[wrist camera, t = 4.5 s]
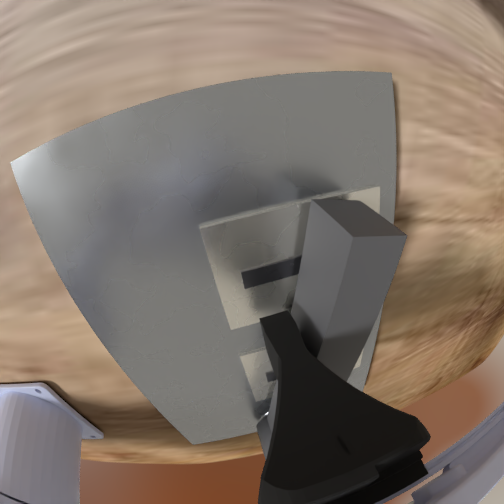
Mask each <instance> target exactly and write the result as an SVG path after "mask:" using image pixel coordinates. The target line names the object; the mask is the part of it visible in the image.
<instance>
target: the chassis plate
mask: <svg viewBox="0 0 504 504" xmlns="http://www.w3.org/2000/svg"><path fill="white" fill-rule="evenodd" d="M11 166H12V169H13V172H14V175H15V178H16V181H17V184H18V187H19V190H20V192H21V195H22V197H23V200H24V203H25V205H26V208H27V210H28V212H29V215H30V217H31V219H32V222H33V224H34V226H35V229H36V231H37V233H38V235H39V237H40V239H41V241H42V243H43V246H44V248H45V250H46V252H47V254H48V255H49V257H50V259H51V261H52V263H53V265H54V267H55V269H56V271H57V272H58V274H59V276H60V278H61V280H62V281H63V283H64V285H65V287H66V288H67V290H68V292H69V293H70V295H71V297H72V298H73V300H74V302H75V303H76V305H77V306H78V308H79V310H80V311H81V313H82V314H83V316H84V317H85V319H86V320H87V322H88V323H89V325H90V326H91V328H92V329H93V331H94V332H95V334H96V335H97V336H98V338H99V339H100V341H101V342H102V343H103V345H104V346H105V347H106V349H107V350H108V351H109V353H110V354H111V355H112V357H113V358H114V359H115V361H116V362H117V363H118V364H119V366H120V367H121V368H122V370H123V371H124V372H125V373H126V374H127V376H128V377H129V378H130V379H131V380H132V382H133V383H134V384H135V385H136V386H137V388H138V389H139V390H140V391H141V392H142V393H143V394H144V396H145V397H146V398H147V399H148V400H149V401H150V402H151V403H152V404H153V405H154V407H155V408H156V409H157V410H158V411H159V412H160V413H161V414H162V415H163V416H164V417H165V418H166V419H167V420H168V421H169V422H170V423H171V424H172V425H173V426H174V427H175V428H176V429H177V430H178V431H179V432H180V433H181V434H182V435H183V436H184V437H185V438H186V439H187V440H188V441H190V442H191V443H192V444H193V445H194V444H200V443H206V442H212V441H217V440H223V439H227V438H232V437H237V436H241V435H246V434H250V433H254V432H258V431H257V428H256V425H257V423H258V422H259V421H261V420H262V419H264V418H265V417H267V416H268V412H269V408H270V404H271V400H272V396H273V392H274V388H275V384H276V379H277V378H276V376H275V374H274V372H273V369H272V366H271V363H270V360H269V357H268V354H267V350H266V346H265V342H264V337H263V333H262V328H261V324H260V319H259V318H262V317H266V316H269V315H273V314H276V313H279V312H283V311H286V310H288V311H289V313H290V314H291V311H292V306H293V301H294V296H295V291H296V285H297V280H298V275H299V269H300V264H301V258H302V253H303V247H304V241H305V235H306V229H307V223H308V216H309V210H310V204H311V199H332V200H360V201H361V202H363V203H364V204H366V205H367V206H368V207H370V208H371V209H373V210H374V211H375V212H377V213H378V214H380V215H381V216H382V217H384V218H385V219H386V220H388V221H389V222H390V223H392V224H393V225H394V212H395V195H396V123H395V105H394V93H393V82H392V73H387V72H364V71H332V72H309V73H295V74H283V75H274V76H266V77H258V78H251V79H244V80H238V81H232V82H227V83H221V84H216V85H211V86H207V87H202V88H197V89H193V90H189V91H185V92H181V93H177V94H173V95H170V96H166V97H162V98H159V99H155V100H152V101H149V102H146V103H142V104H139V105H136V106H133V107H130V108H127V109H124V110H122V111H119V112H116V113H113V114H111V115H108V116H105V117H103V118H100V119H98V120H95V121H93V122H90V123H88V124H86V125H83V126H81V127H79V128H76V129H74V130H72V131H70V132H67V133H65V134H63V135H61V136H59V137H57V138H55V139H53V140H51V141H49V142H47V143H45V144H43V145H41V146H39V147H37V148H35V149H33V150H32V151H30V152H28V153H26V154H24V155H23V156H21V157H19V158H17V159H16V160H14V161H12V162H11ZM382 308H383V305H382ZM382 308H381V310H380V312H379V315H378V317H377V319H376V322H375V324H374V326H373V329H372V331H371V333H370V335H369V337H368V340H367V342H366V344H365V346H364V348H363V350H362V352H361V354H360V356H359V358H358V360H357V363H356V364H355V366H354V368H353V370H352V372H351V374H350V376H349V378H348V380H347V382H348V383H349V384H351V385H352V386H354V387H355V388H357V389H358V390H360V391H362V392H363V388H364V385H365V382H366V378H367V374H368V371H369V367H370V363H371V359H372V355H373V351H374V347H375V342H376V338H377V333H378V329H379V324H380V319H381V314H382Z"/></svg>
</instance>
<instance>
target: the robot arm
mask: <svg viewBox="0 0 504 504" xmlns="http://www.w3.org/2000/svg"><path fill="white" fill-rule="evenodd" d="M259 319H260V324H261V328H262V333H263V337H264V342H265V346H266V350H267V354H268V357H269V360H270V363H271V366H272V369H273V372H274V374H275V376H276V378H277V380H278V393H277V404H276V412H275V419H274V426H273V431H272V436H271V441H270V445H269V450H268V454H267V458H266V461H265V465H264V468H263V472H262V475H261V482H260V489H259V498H258V504H383V503H385V502H387V501H389V500H391V499H393V498H395V497H397V496H399V495H400V494H402V493H404V492H406V491H408V490H409V489H411V488H413V487H414V486H416V485H418V484H419V483H421V482H423V481H424V480H425V479H427V478H429V477H430V476H432V475H433V474H435V473H437V472H438V471H439V470H441V469H442V468H444V469H443V473H442V474H441V475H440V476H438V477H437V478H435V479H433V480H432V481H430V482H428V483H427V484H425V485H424V486H422V487H421V488H419V489H418V490H416V491H414V492H413V493H412V494H411V495H412V497H413V499H414V501H412V502H410V503H408V504H478V503H479V502H480V501H481V500H482V499H483V498H484V497H485V496H486V495H487V494H488V493H489V492H490V491H491V490H492V489H493V488H494V486H495V485H496V484H497V483H498V482H499V481H500V480H501V478H502V477H503V476H504V402H503V403H502V404H501V405H500V406H499V407H498V408H497V409H496V410H494V411H493V412H492V413H491V414H490V415H489V416H488V417H487V418H486V419H485V420H484V421H482V422H481V423H480V424H479V425H478V426H476V427H475V428H474V429H473V430H472V431H470V432H469V433H468V434H467V435H465V436H464V437H463V438H462V439H460V440H459V441H458V442H456V443H455V444H454V445H452V446H451V447H450V448H448V449H447V450H446V451H444V452H442V453H441V454H440V455H438V456H437V457H435V458H434V459H432V460H431V461H429V462H427V463H426V464H423V462H422V460H421V458H422V457H423V455H422V454H421V452H420V451H419V450H420V449H421V448H422V447H423V446H424V445H425V444H426V443H427V442H428V441H429V440H430V437H431V436H430V434H429V433H428V431H427V429H426V428H425V427H424V425H423V424H422V423H421V422H420V421H419V420H418V419H417V418H416V417H415V416H412V415H409V414H407V413H405V412H402V411H399V410H397V409H395V408H393V407H390V406H388V405H386V404H384V403H382V402H380V401H378V400H376V399H374V398H373V397H371V396H369V395H367V394H365V393H364V392H362V391H360V390H358V389H357V388H355V387H354V386H352V385H351V384H349V383H348V382H346V381H345V380H343V379H342V378H340V377H339V376H338V375H336V374H335V373H334V372H332V371H331V370H330V369H329V368H327V367H326V366H325V365H324V364H323V363H321V362H320V361H319V360H318V359H317V358H316V357H315V356H313V355H312V354H311V353H310V352H309V351H308V350H307V349H306V347H305V344H304V341H303V339H302V336H301V334H300V331H299V329H298V326H297V324H296V322H295V320H294V319H293V317H292V316H291V314H290V313H289V311H288V310H286V311H283V312H279V313H276V314H273V315H269V316H266V317H262V318H259ZM102 438H104V434H103V433H102V432H101V431H100V430H98V429H97V428H96V427H94V426H93V425H92V424H91V423H89V422H88V421H87V420H86V419H85V418H83V417H82V416H81V415H80V414H79V413H77V412H76V411H75V410H74V409H73V408H72V407H70V406H69V405H68V404H67V403H66V402H65V401H64V400H63V399H62V398H60V397H59V396H58V395H57V394H56V393H55V392H54V391H53V390H52V389H51V388H50V387H49V386H48V385H46V384H45V383H24V384H0V504H80V489H79V488H80V486H79V485H80V481H79V480H80V457H81V442H82V439H102Z"/></svg>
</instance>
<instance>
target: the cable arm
mask: <svg viewBox="0 0 504 504" xmlns="http://www.w3.org/2000/svg"><path fill="white" fill-rule="evenodd" d="M406 238H407V235H406V234H405V233H404V232H402V231H401V230H400V229H398V228H397V227H396V226H394V225H393V224H392V223H390V222H389V221H388V220H386V219H385V218H384V217H382V216H381V215H380V214H378V213H377V212H375V211H374V210H373V209H371V208H370V207H368V206H367V205H366V204H364V203H363V202H361V201H360V200H332V199H311V204H310V210H309V216H308V223H307V229H306V235H305V241H304V247H303V253H302V258H301V264H300V269H299V275H298V280H297V285H296V291H295V296H294V301H293V306H292V311H291V316H292V317H293V319H294V320H295V322H296V324H297V326H298V329H299V331H300V334H301V336H302V339H303V341H304V344H305V347H306V349H307V350H308V351H309V352H310V353H311V354H312V355H313V356H315V357H316V358H317V359H318V360H319V361H320V362H321V363H323V364H324V365H325V366H326V367H327V368H329V369H330V370H331V371H332V372H334V373H335V374H336V375H338V376H339V377H340V378H342V379H343V380H345V381H346V382H347V380H348V378H349V376H350V374H351V372H352V370H353V368H354V366H355V364H356V363H357V360H358V358H359V356H360V354H361V352H362V350H363V348H364V346H365V344H366V342H367V340H368V337H369V335H370V333H371V331H372V329H373V326H374V324H375V322H376V319H377V317H378V315H379V312H380V310H381V308H382V305H383V303H384V300H385V298H386V295H387V293H388V290H389V287H390V285H391V282H392V279H393V277H394V274H395V271H396V268H397V265H398V263H399V260H400V257H401V254H402V251H403V248H404V244H405V241H406ZM277 393H278V380H277V379H276V384H275V388H274V392H273V396H272V400H271V404H270V408H269V412H268V416H267V417H265V418H264V419H262V420H261V421H259V422H258V423H257V425H256V428H257V431H258V435H259V438H260V442H261V446H262V449H263V452H264V456H265V459H266V458H267V454H268V450H269V445H270V441H271V436H272V431H273V426H274V419H275V412H276V404H277Z"/></svg>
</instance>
